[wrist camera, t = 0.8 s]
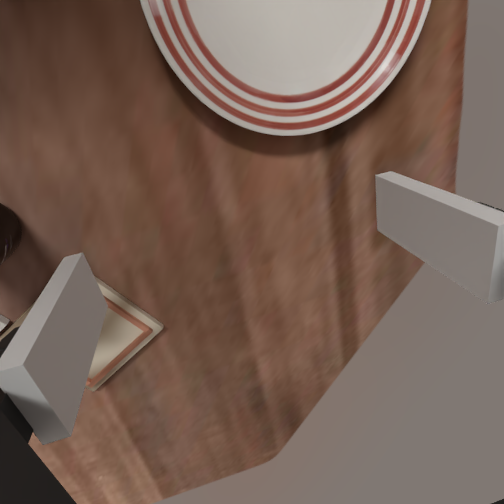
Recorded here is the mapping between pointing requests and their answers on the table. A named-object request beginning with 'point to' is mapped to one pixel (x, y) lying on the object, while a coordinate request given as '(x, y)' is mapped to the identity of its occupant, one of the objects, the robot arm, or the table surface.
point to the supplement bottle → (8, 233)
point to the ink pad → (3, 322)
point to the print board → (114, 335)
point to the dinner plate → (286, 56)
